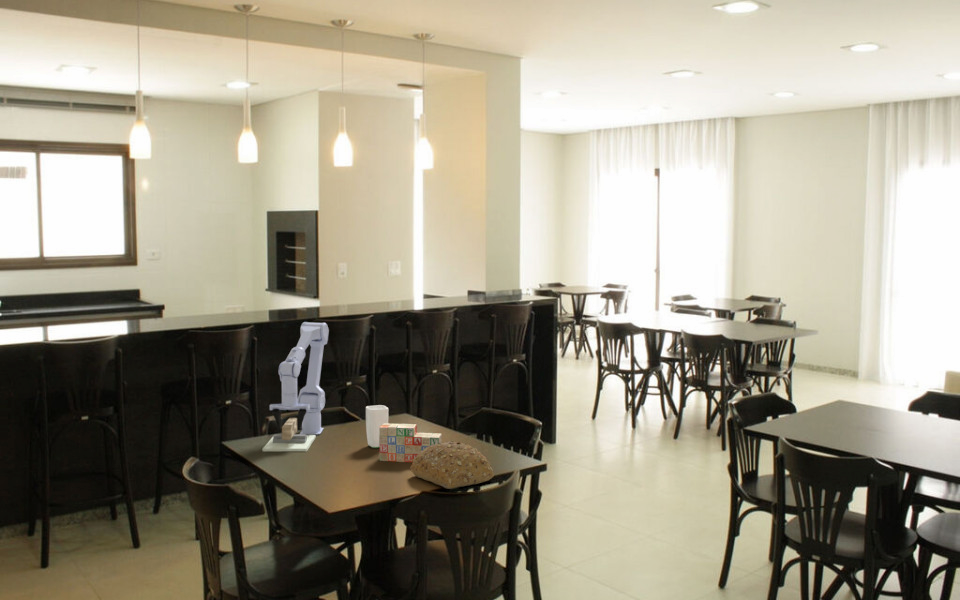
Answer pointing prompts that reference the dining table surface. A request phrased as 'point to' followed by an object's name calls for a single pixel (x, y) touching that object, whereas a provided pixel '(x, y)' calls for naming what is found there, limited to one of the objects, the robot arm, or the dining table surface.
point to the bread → (452, 465)
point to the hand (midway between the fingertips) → (289, 428)
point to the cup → (375, 423)
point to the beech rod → (289, 429)
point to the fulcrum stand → (289, 443)
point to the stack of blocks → (404, 442)
